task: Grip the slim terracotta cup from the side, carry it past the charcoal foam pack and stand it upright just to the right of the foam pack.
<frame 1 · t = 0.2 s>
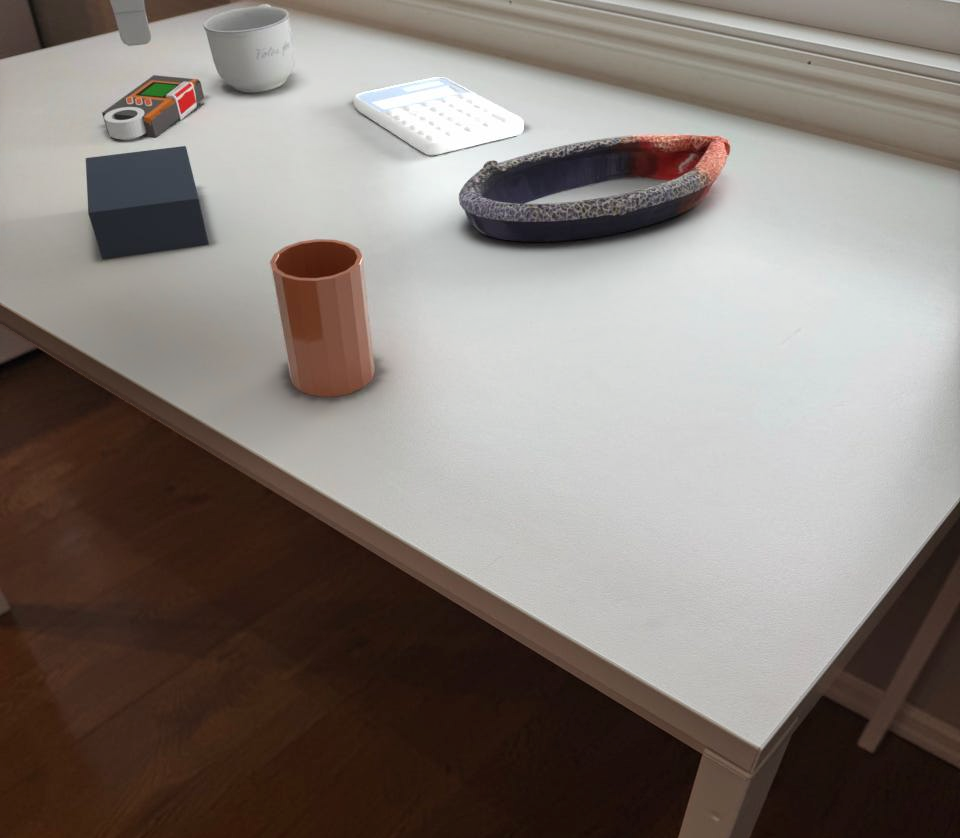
hand: (132, 21, 62), 24 cm above the table, tool pointing down, fingers open, 8 cm apart
teacup: (263, 83, 129), on the table
electronic device: (153, 122, 119), on the table
calculator: (436, 122, 118), on the table
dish: (600, 214, 99), on the table
terracotta cup: (333, 380, 77), on the table
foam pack: (153, 228, 98), on the table
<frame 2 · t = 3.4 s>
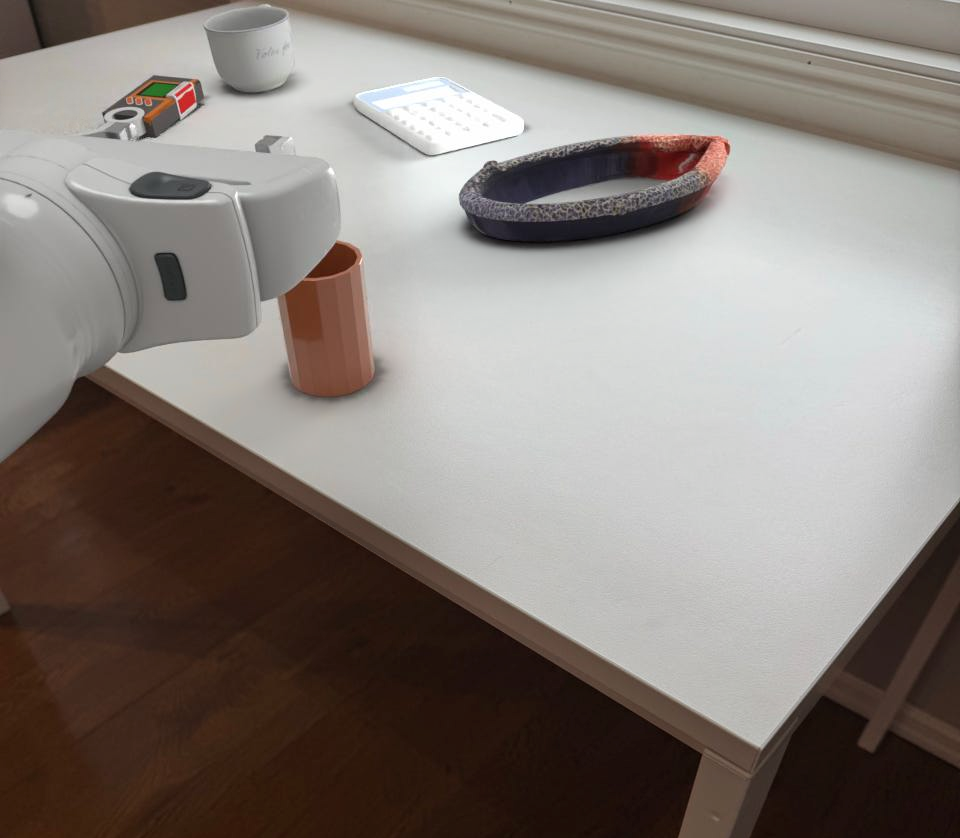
hand: (204, 143, 53), 22 cm above the table, tool horizontal, fingers open, 8 cm apart
nothing on the table moved.
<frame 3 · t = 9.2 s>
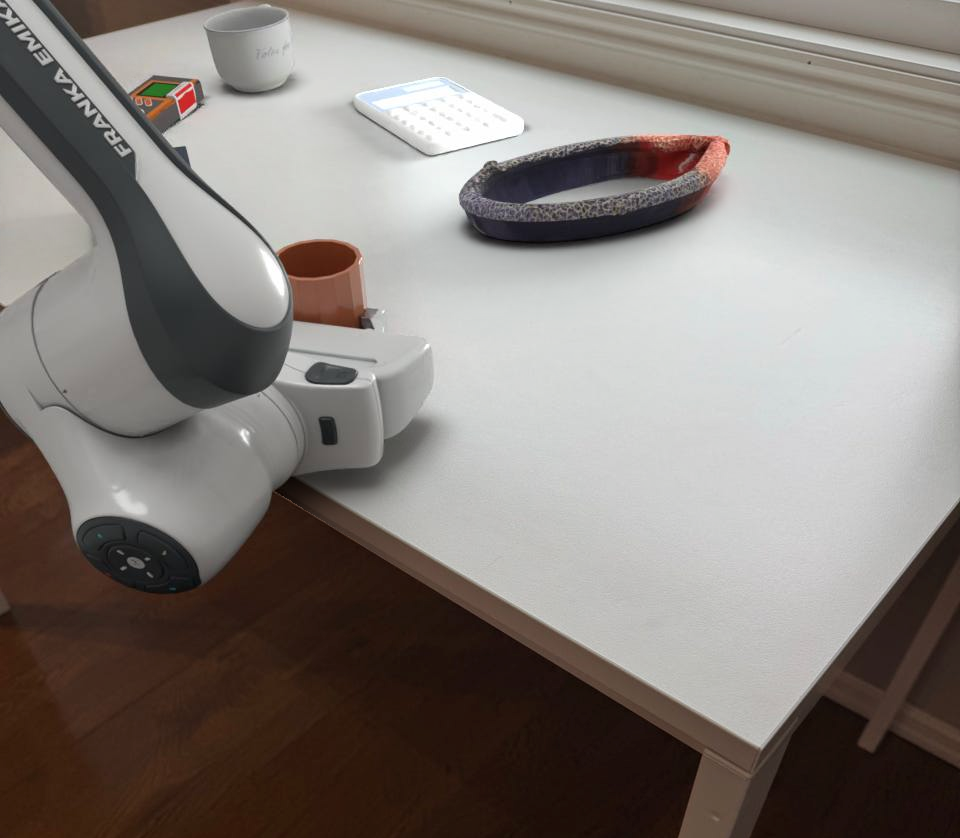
hand: (328, 311, 74), 6 cm above the table, tool horizontal, fingers closed on terracotta cup, 7 cm apart
terracotta cup: (333, 380, 77), on the table, touching gripper
everything else where it was.
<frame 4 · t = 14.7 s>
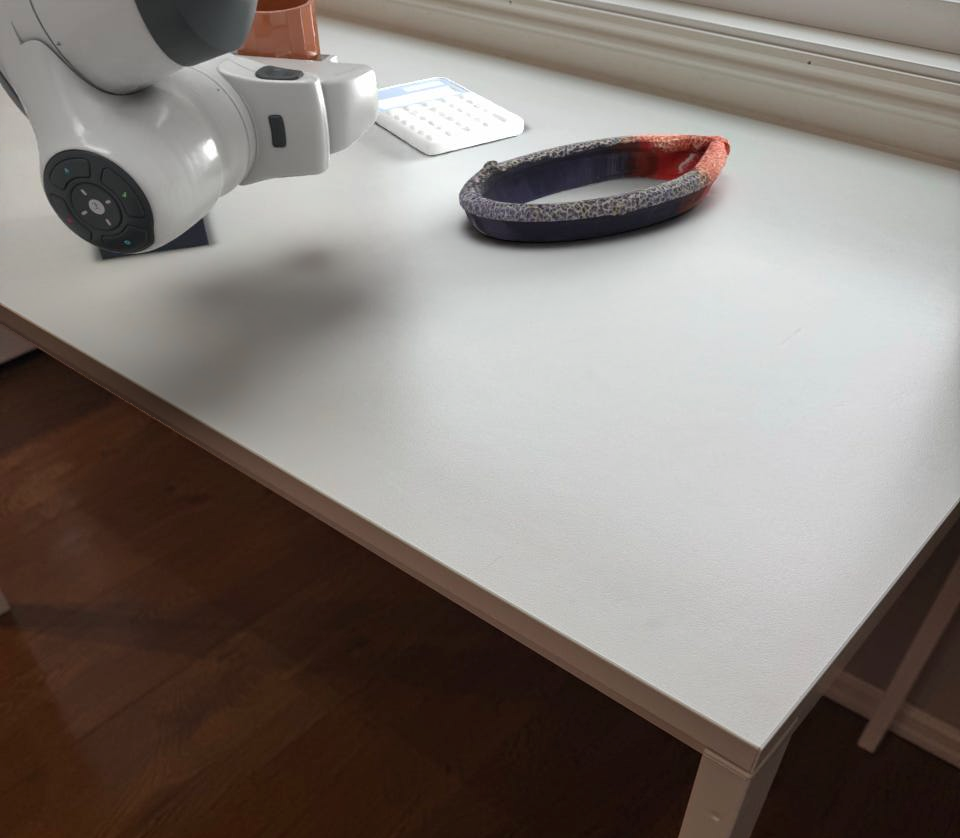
hand: (285, 62, 80), 17 cm above the table, tool horizontal, fingers closed on terracotta cup, 7 cm apart
terracotta cup: (291, 136, 83), point 11 cm above the table, touching gripper
everything else where it was.
when the fingers open (5 cm above the table, at t = 20.3 s): terracotta cup stays where it is, on the table.
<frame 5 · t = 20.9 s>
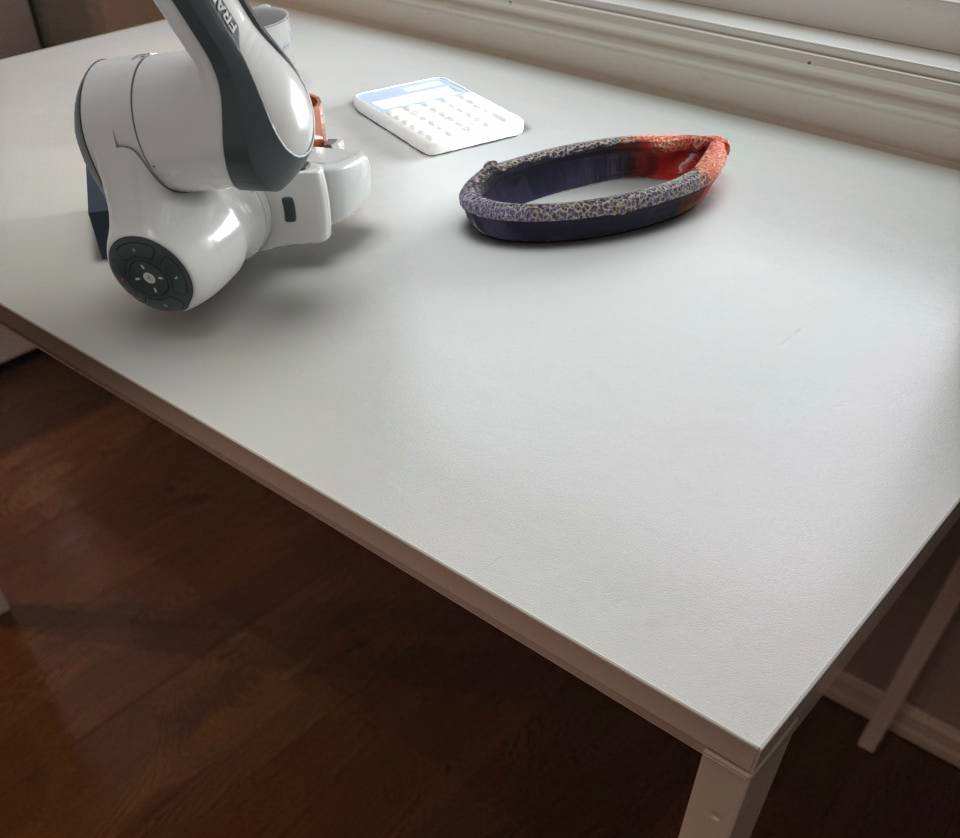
hand: (293, 143, 97), 6 cm above the table, tool horizontal, fingers open, 8 cm apart
terracotta cup: (302, 208, 100), on the table
everything else where it was.
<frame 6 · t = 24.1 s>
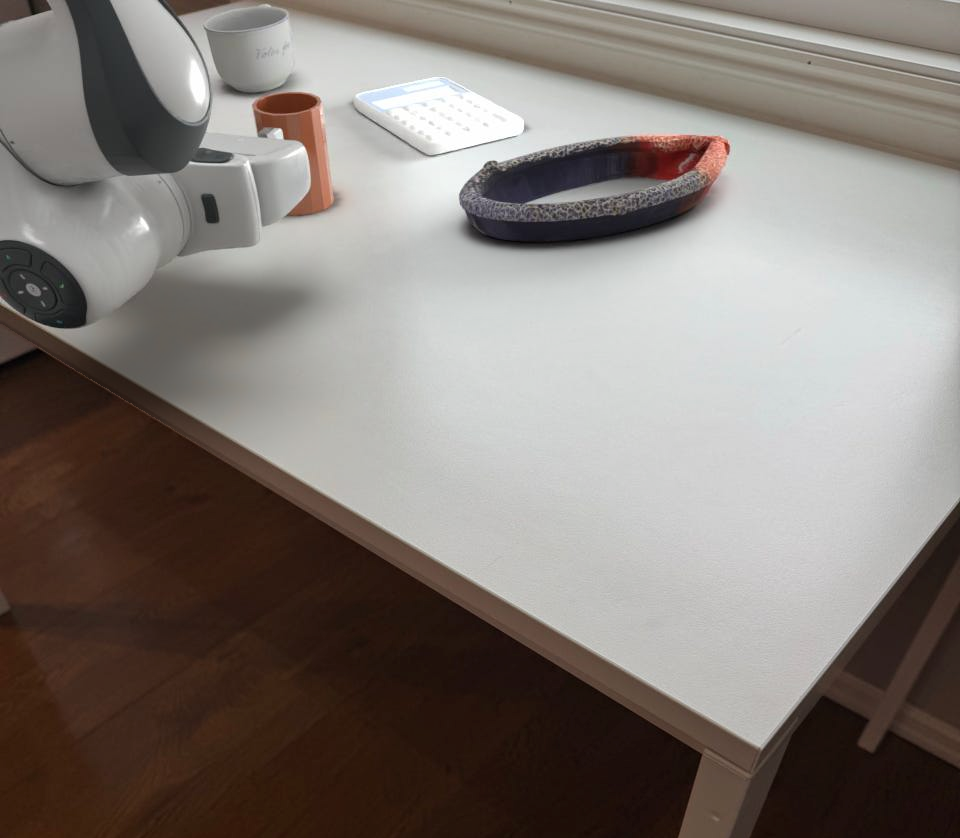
hand: (225, 132, 84), 11 cm above the table, tool horizontal, fingers open, 8 cm apart
nothing on the table moved.
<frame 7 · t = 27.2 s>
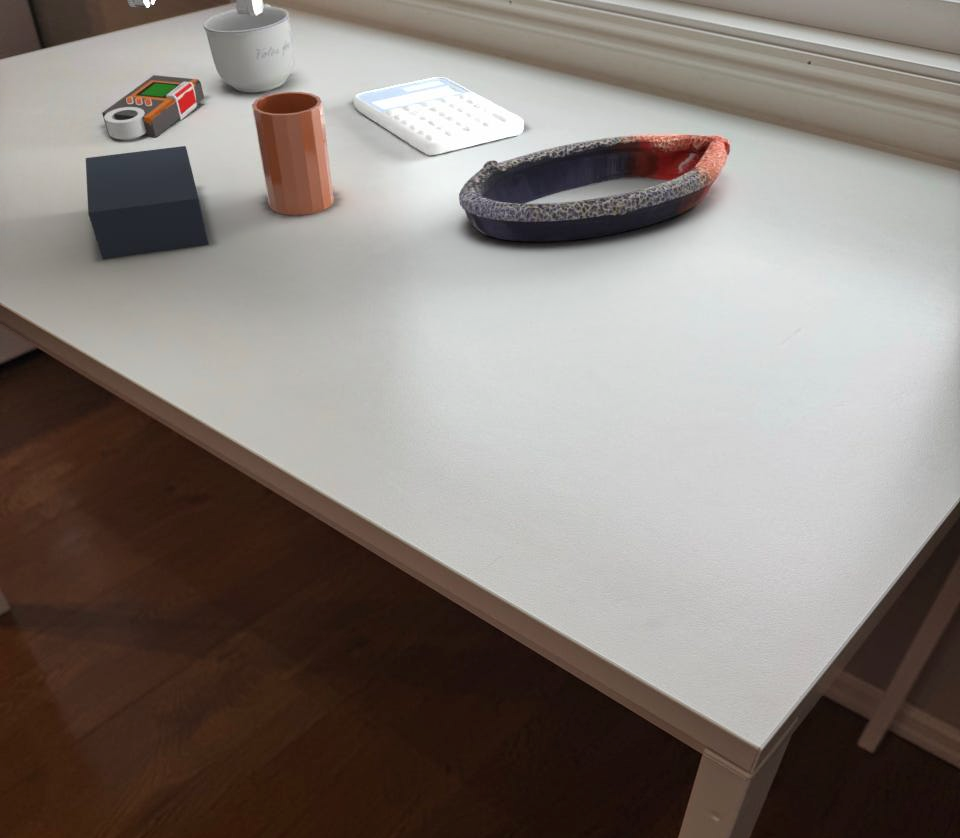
hand: (196, 9, 76), 21 cm above the table, tool pointing down, fingers open, 8 cm apart
nothing on the table moved.
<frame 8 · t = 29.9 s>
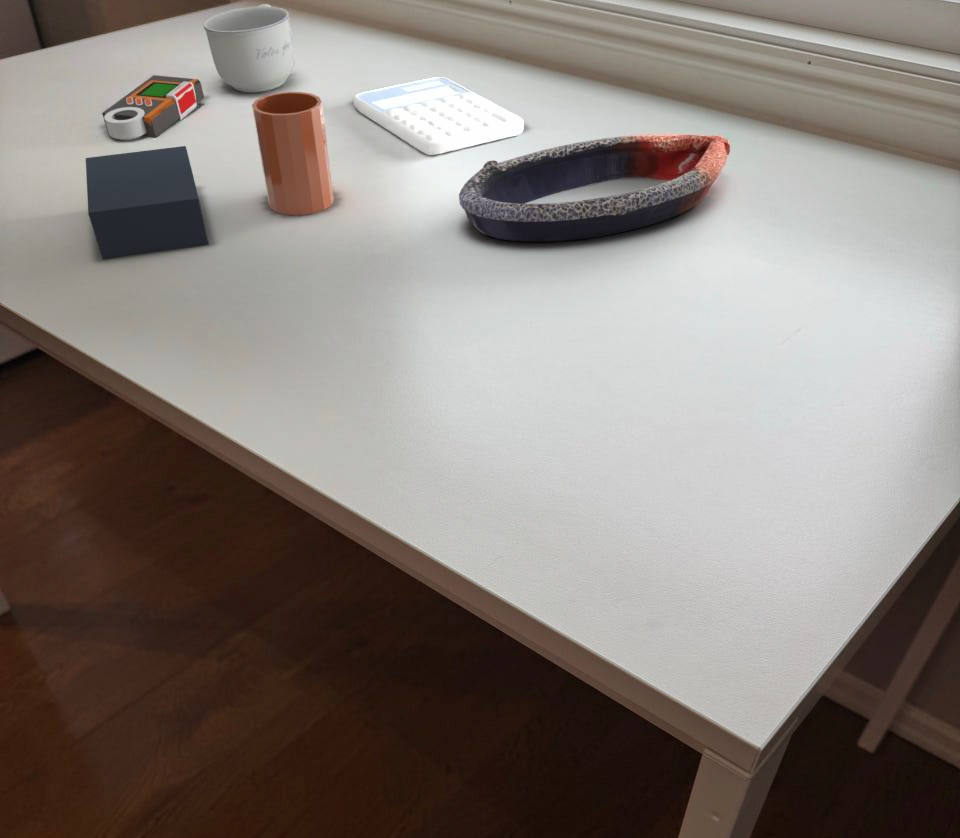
nothing on the table moved.
at the end: terracotta cup inside the target area on the table beside the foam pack (1.2 cm from its centre), on the table; terracotta cup tilted 0°; the gripper is holding nothing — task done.
